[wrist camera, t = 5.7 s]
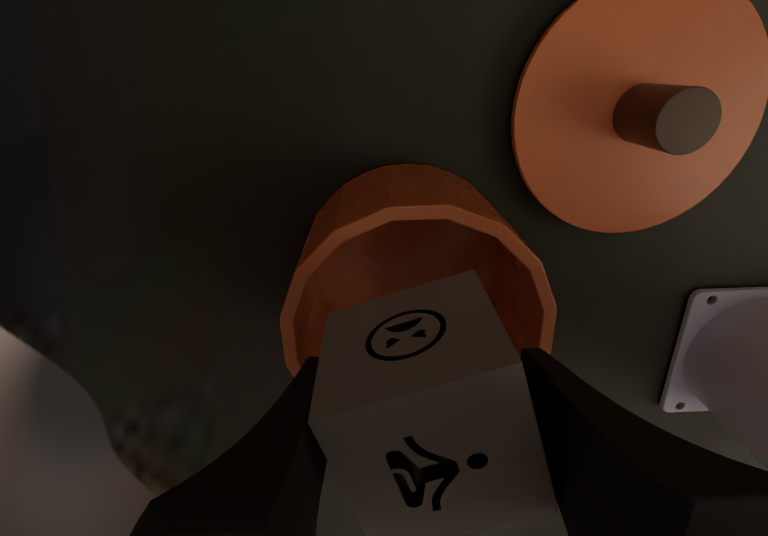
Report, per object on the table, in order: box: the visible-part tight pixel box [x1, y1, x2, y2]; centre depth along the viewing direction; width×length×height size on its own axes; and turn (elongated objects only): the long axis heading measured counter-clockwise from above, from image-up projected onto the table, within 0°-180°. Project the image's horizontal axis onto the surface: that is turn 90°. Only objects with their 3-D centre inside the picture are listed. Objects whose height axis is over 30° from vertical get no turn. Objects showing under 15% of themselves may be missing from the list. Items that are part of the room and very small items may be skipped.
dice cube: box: [308, 269, 559, 536], centre depth 13 cm, size 5×5×5 cm
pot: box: [279, 164, 557, 377], centre depth 20 cm, size 10×10×7 cm
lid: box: [511, 0, 768, 233], centre depth 18 cm, size 11×11×4 cm
